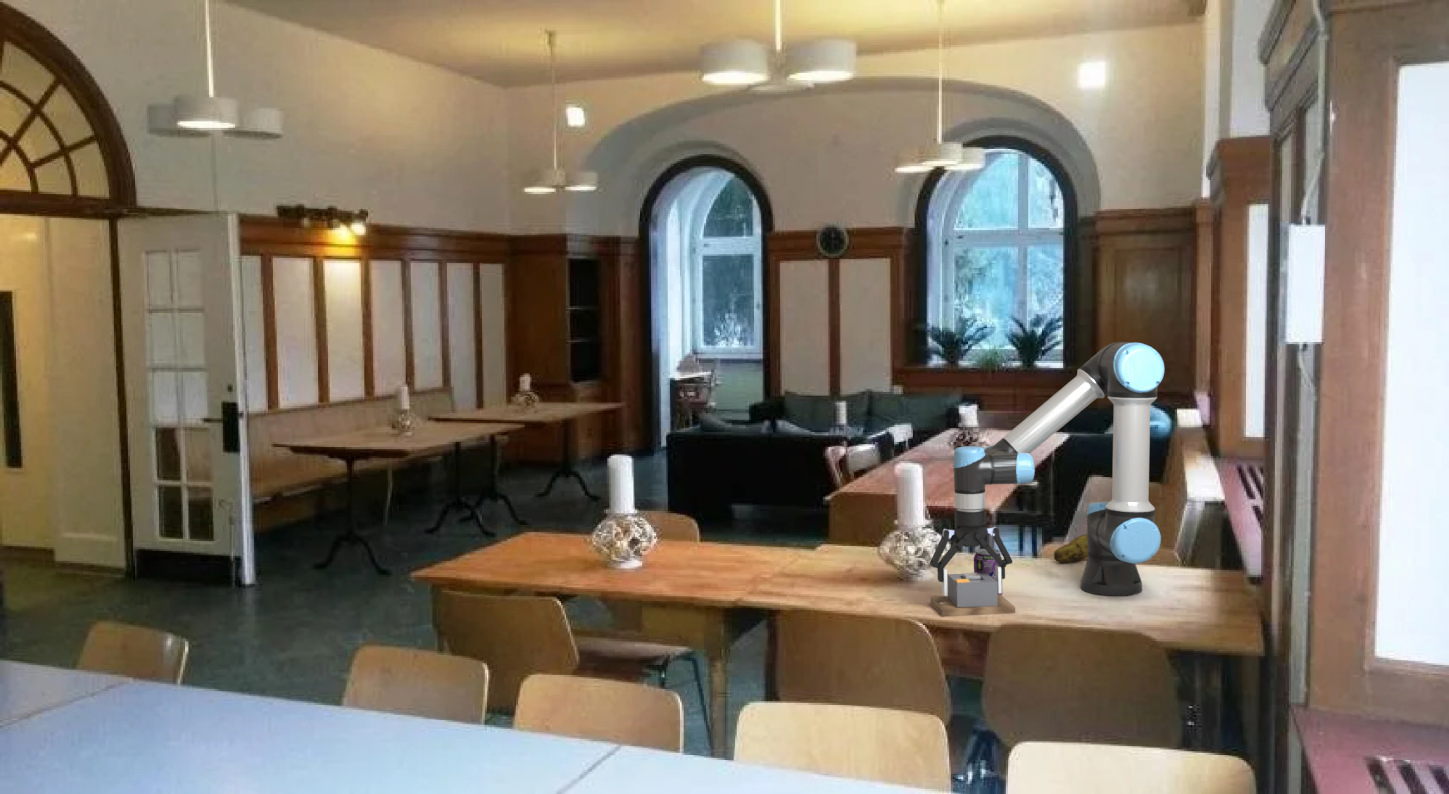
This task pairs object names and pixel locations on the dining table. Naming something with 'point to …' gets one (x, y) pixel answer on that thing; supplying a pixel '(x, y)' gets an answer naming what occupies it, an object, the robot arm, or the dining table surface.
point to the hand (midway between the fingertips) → (971, 593)
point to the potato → (1073, 551)
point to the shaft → (971, 576)
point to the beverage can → (985, 563)
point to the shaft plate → (950, 609)
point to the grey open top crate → (972, 591)
